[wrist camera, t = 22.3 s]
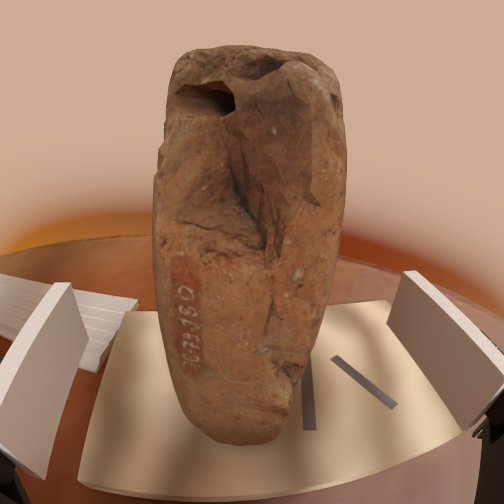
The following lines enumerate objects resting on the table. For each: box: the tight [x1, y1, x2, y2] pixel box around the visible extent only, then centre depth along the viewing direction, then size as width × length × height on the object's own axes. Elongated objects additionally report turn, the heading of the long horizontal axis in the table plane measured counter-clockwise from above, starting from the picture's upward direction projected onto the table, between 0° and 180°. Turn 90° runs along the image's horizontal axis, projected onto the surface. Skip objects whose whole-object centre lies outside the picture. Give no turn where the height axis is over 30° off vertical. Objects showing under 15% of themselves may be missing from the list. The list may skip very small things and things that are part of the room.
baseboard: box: [0, 274, 139, 373], centre depth 25 cm, size 31×3×12 cm
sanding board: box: [77, 300, 468, 502], centre depth 20 cm, size 28×18×2 cm, turn 97°
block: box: [152, 45, 347, 446], centre depth 15 cm, size 11×8×20 cm
